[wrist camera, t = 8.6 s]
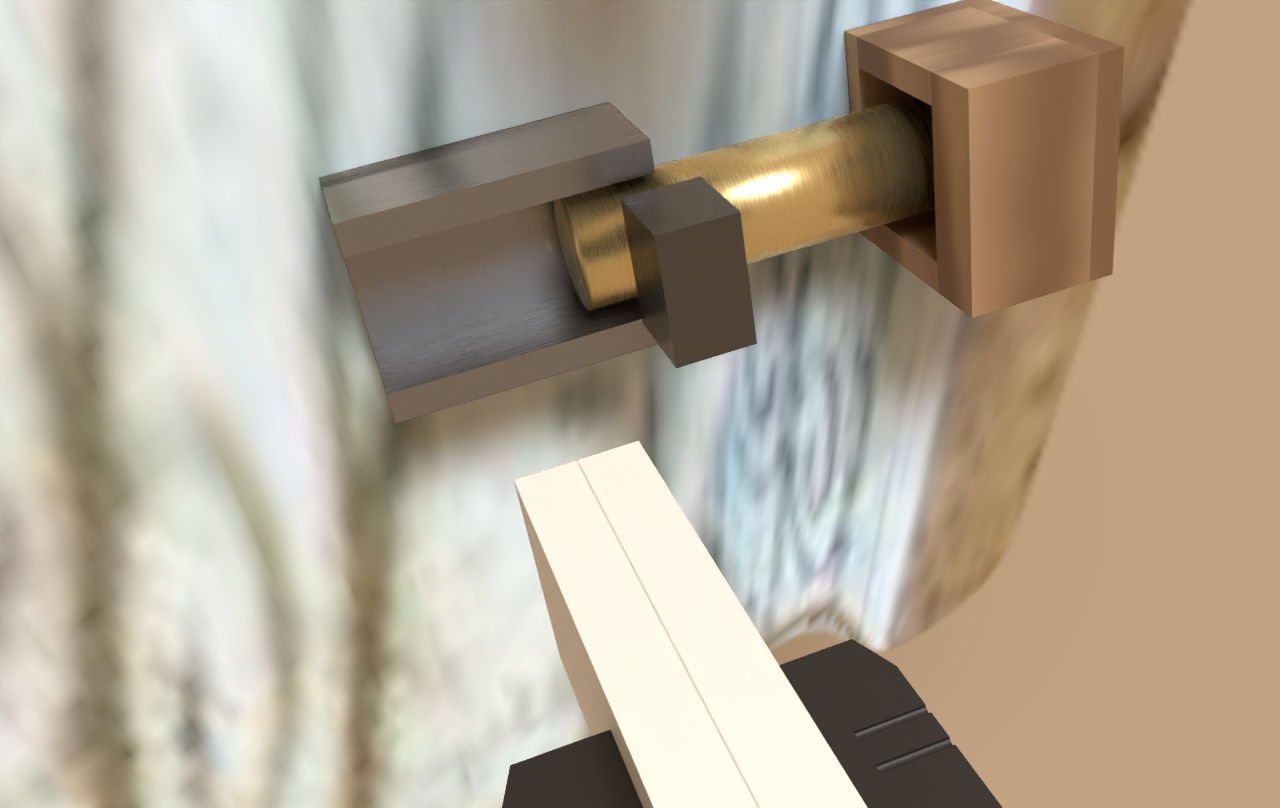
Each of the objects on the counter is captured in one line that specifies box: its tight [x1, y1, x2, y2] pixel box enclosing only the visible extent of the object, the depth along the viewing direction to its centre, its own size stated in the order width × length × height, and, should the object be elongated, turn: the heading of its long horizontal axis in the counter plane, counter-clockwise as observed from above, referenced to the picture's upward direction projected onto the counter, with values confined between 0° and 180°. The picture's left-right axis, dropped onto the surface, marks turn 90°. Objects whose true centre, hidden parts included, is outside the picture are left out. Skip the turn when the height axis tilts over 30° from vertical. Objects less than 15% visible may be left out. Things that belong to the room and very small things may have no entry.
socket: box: [845, 0, 1124, 318], centre depth 38 cm, size 5×7×7 cm
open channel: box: [319, 102, 658, 423], centre depth 37 cm, size 9×6×4 cm
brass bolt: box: [554, 96, 935, 368], centre depth 36 cm, size 13×4×7 cm, turn 99°
